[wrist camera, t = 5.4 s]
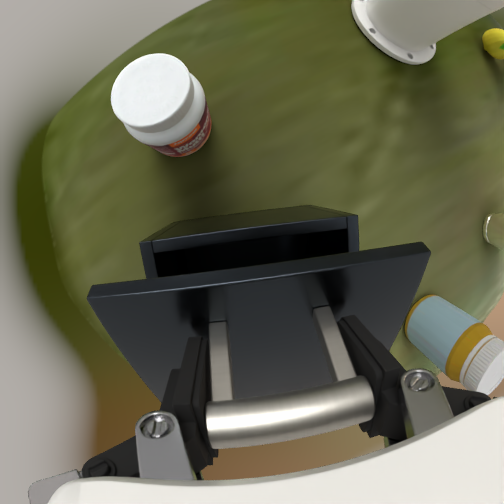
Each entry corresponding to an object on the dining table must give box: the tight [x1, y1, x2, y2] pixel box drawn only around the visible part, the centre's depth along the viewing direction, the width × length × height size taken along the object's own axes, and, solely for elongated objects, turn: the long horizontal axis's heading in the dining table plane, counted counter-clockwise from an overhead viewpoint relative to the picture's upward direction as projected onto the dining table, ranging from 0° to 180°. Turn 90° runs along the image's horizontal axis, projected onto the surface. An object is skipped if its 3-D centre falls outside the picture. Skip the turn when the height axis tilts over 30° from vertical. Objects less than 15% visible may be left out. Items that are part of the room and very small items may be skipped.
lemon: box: [482, 28, 504, 59], centre depth 18 cm, size 7×6×10 cm
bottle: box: [405, 295, 504, 395], centre depth 24 cm, size 7×7×15 cm
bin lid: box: [87, 242, 431, 449], centre depth 13 cm, size 16×14×6 cm
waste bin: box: [139, 205, 359, 279], centre depth 23 cm, size 16×14×11 cm
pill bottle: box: [111, 54, 211, 157], centre depth 19 cm, size 6×6×11 cm
